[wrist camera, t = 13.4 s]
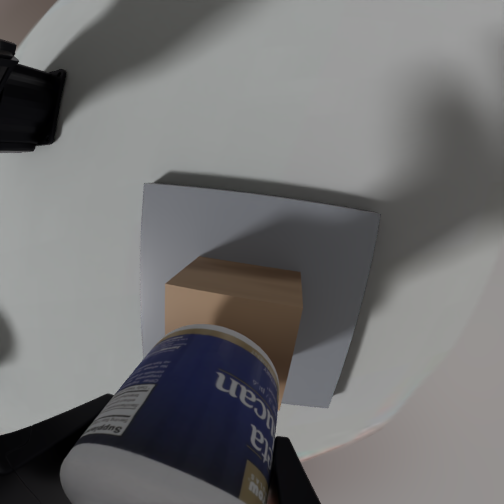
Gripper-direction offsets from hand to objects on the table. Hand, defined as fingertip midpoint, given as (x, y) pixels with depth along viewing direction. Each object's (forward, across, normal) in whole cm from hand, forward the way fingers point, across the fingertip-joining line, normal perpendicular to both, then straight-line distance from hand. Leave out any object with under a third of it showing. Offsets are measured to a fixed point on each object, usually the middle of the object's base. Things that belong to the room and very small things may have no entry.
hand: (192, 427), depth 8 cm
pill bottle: (+3, 0, 0) cm, 3 cm away
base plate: (+11, 0, 0) cm, 11 cm away
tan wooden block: (+10, 0, 0) cm, 10 cm away
